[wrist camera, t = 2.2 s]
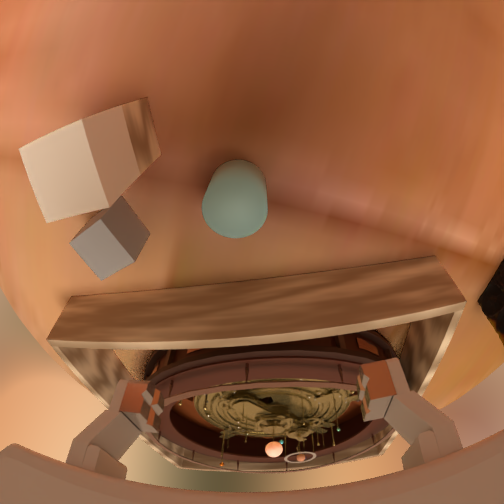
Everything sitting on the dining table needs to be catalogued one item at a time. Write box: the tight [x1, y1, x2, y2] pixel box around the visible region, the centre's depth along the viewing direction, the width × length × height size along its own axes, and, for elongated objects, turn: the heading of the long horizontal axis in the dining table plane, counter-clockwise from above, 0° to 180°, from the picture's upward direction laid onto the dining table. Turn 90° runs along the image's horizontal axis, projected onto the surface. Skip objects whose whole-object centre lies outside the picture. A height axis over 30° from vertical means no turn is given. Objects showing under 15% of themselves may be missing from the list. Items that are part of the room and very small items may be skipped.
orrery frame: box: [46, 256, 467, 471], centre depth 43 cm, size 48×46×8 cm
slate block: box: [69, 196, 150, 281], centre depth 27 cm, size 5×5×5 cm
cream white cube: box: [19, 105, 140, 223], centre depth 17 cm, size 6×6×6 cm
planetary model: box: [144, 330, 397, 473], centre depth 42 cm, size 43×45×12 cm
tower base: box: [122, 97, 161, 175], centre depth 22 cm, size 6×6×6 cm
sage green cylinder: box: [202, 160, 268, 238], centre depth 25 cm, size 5×5×5 cm
